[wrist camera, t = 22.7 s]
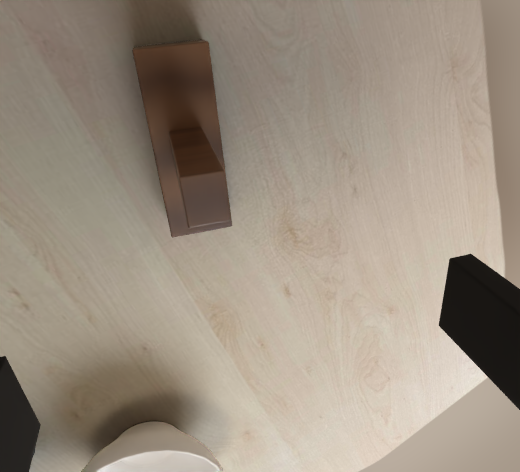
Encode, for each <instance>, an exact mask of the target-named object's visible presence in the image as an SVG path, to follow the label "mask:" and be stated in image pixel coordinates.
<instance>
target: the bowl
mask: <svg viewBox="0 0 520 472" xmlns="http://www.w3.org/2000/svg"><path fill="white" fill-rule="evenodd" d="M81 472H223V470H222V467H221V465H220V464H219V462H218V461H217V459H216V458H215V456H214V455H213V453H212V452H211V450H210V449H208V448H207V447H206V446H205V445H204V444H202V443H201V442H200V441H198V440H197V439H195V438H194V437H192V436H190V435H188V434H186V433H183V432H181V431H179V430H178V429H177V428H176V427H174V426H173V425H170V424H168V423H165V422H157V421H154V422H145V423H141V424H137V425H135V426H133V427H130V428H129V429H127V430H126V431H124V432H123V433H122V434H121V435H120V436H119V437H118V438H117V439H116V440H115V441H113V442H112V443H111V444H109V445H108V446H107V447H105V448H104V449H102V450H101V451H100V452H99V453H97V454H96V455H95V456H94V457H93V459H92V460H91V461H90V462H89V463H88V464H87V465H86V466H85V468H84V469H83V470H82V471H81Z"/></svg>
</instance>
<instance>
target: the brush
mask: <svg viewBox="0 0 520 472" xmlns="http://www.w3.org/2000/svg"><path fill="white" fill-rule="evenodd" d="M133 55H134V60H135V65H136V70H137V74H138V79H139V84H140V89H141V93H142V98H143V103H144V108H145V112H146V117H147V122H148V127H149V131H150V136H151V141H152V146H153V150H154V155H155V160H156V165H157V169H158V174H159V179H160V184H161V188H162V193H163V198H164V203H165V207H166V212H167V217H168V222H169V226H170V231H171V236H172V237H177V236H183V235H188V234H194V233H199V232H204V231H210V230H215V229H220V228H226V227H231V226H232V221H231V213H230V205H229V197H228V190H227V182H226V174H225V166H224V158H223V151H222V143H221V135H220V127H219V120H218V112H217V104H216V96H215V89H214V81H213V73H212V65H211V58H210V50H209V43H208V42H207V41H205V40H202V39H199V40H189V41H180V42H170V43H161V44H151V45H142V46H134V48H133Z"/></svg>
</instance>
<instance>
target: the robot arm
mask: <svg viewBox="0 0 520 472" xmlns="http://www.w3.org/2000/svg"><path fill="white" fill-rule="evenodd" d="M439 326H440V327H441V328H442V329H443V330H444V331H445V332H446V333H447V335H448V336H449V337H450V338H451V339H452V340H453V341H454V342H455V343H456V344H457V345H458V346H459V347H460V348H461V349H462V350H463V351H464V352H465V353H466V354H467V355H468V356H469V358H470V359H471V360H472V361H473V362H474V363H475V364H476V365H477V366H478V367H479V368H480V369H481V370H482V371H483V372H484V373H485V374H486V375H487V376H488V377H489V378H490V379H491V380H492V381H493V383H494V384H495V385H496V386H497V387H498V388H499V389H500V390H501V391H502V392H503V393H504V394H505V395H506V396H507V397H508V398H509V399H510V400H511V401H512V402H513V403H514V405H516V407H517V408H519V410H520V289H519V288H517V287H516V286H515V285H513V284H512V283H511V282H509V281H508V280H506V279H505V278H504V277H502V276H501V275H499V274H498V273H497V272H495V271H494V270H493V269H491V268H490V267H488V266H487V265H486V264H484V263H483V262H481V261H480V260H479V259H477V258H476V257H475V256H473V255H472V254H468V255H464V256H459V257H455V258H450V260H449V266H448V272H447V279H446V285H445V291H444V297H443V303H442V309H441V315H440V321H439ZM39 429H40V423H39V421H38V419H37V417H36V415H35V413H34V411H33V409H32V407H31V405H30V403H29V401H28V400H27V398H26V396H25V394H24V392H23V390H22V388H21V386H20V384H19V382H18V380H17V378H16V376H15V374H14V372H13V370H12V368H11V366H10V364H9V362H8V360H7V358H6V356H4V357H0V472H29V469H30V465H31V461H32V457H33V453H34V449H35V445H36V441H37V437H38V433H39Z"/></svg>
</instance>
